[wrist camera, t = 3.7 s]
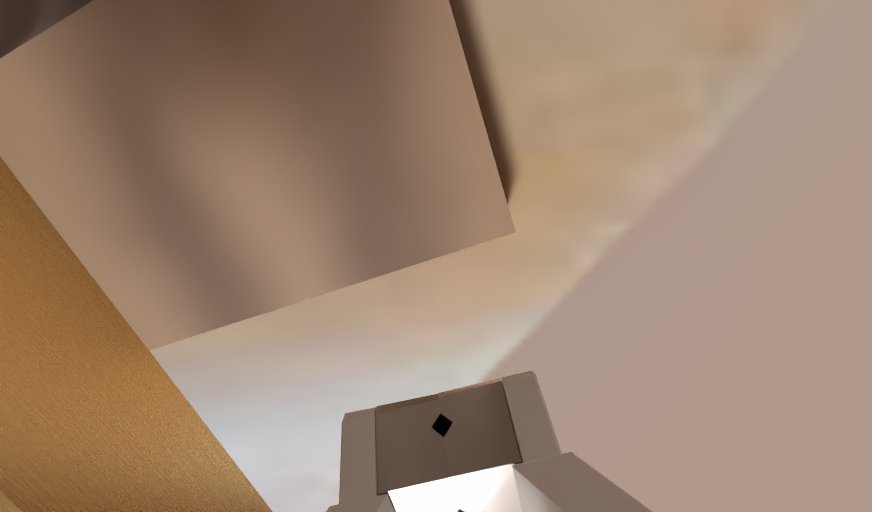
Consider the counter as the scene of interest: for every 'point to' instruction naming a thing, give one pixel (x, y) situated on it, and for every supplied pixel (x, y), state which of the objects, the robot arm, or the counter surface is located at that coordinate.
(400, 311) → the counter surface
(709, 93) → the counter surface
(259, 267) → the lock plate
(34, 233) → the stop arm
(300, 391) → the counter surface
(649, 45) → the counter surface
